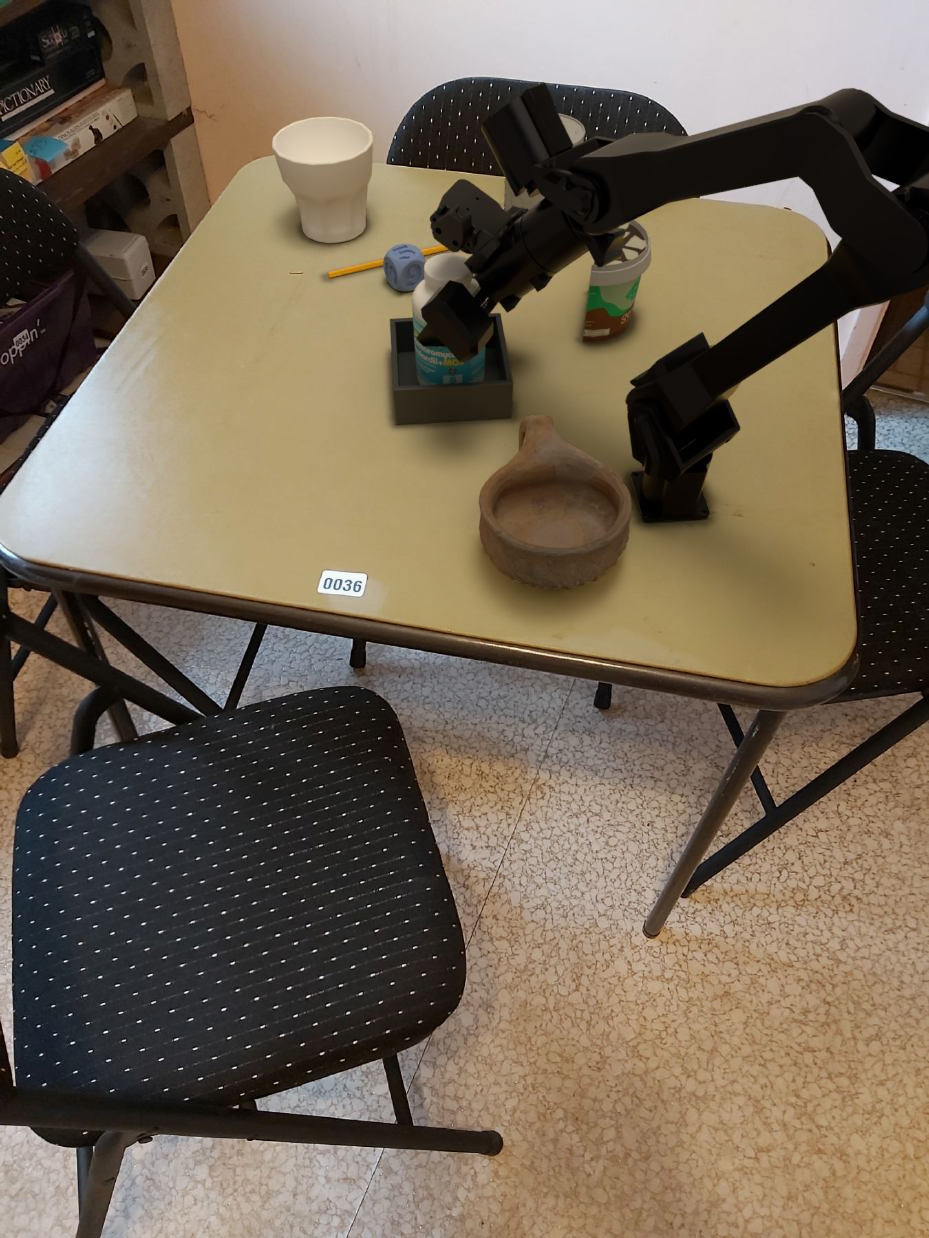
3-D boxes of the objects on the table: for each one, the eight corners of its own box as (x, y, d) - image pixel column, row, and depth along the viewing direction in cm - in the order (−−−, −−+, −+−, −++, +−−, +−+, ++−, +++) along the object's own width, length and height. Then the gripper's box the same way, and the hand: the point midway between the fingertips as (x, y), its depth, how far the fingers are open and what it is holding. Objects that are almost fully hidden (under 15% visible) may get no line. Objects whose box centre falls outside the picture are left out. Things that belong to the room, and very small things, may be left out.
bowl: (426, 483, 81) (452, 396, 74) (552, 479, 87) (587, 399, 79) (491, 623, 71) (527, 538, 64) (629, 608, 76) (676, 529, 69)
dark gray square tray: (511, 418, 89) (513, 383, 85) (396, 424, 88) (393, 390, 84) (499, 347, 96) (500, 312, 92) (392, 353, 95) (389, 318, 92)
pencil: (464, 247, 108) (464, 242, 108) (330, 280, 104) (329, 275, 104) (462, 244, 109) (462, 239, 108) (327, 276, 105) (327, 271, 104)
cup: (279, 211, 114) (263, 124, 105) (368, 196, 116) (360, 110, 107) (296, 259, 107) (281, 170, 98) (391, 242, 109) (384, 154, 100)
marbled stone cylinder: (494, 241, 109) (496, 142, 99) (513, 205, 114) (517, 108, 104) (566, 253, 107) (575, 153, 97) (581, 215, 113) (592, 117, 103)
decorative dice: (411, 270, 105) (410, 240, 102) (428, 285, 103) (427, 255, 100) (384, 280, 104) (381, 249, 101) (400, 295, 102) (398, 265, 99)
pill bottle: (404, 390, 91) (394, 275, 80) (437, 353, 94) (432, 238, 84) (465, 411, 88) (463, 295, 77) (497, 372, 92) (499, 256, 81)
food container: (635, 355, 95) (650, 274, 87) (580, 349, 95) (591, 267, 87) (643, 293, 102) (658, 213, 94) (592, 288, 103) (603, 207, 94)
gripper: (528, 117, 76) (426, 211, 88) (437, 214, 66) (335, 305, 78) (600, 220, 80) (493, 297, 92) (524, 326, 70) (415, 396, 82)
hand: (437, 320), depth 86 cm, fingers closed on pill bottle, 7 cm apart
